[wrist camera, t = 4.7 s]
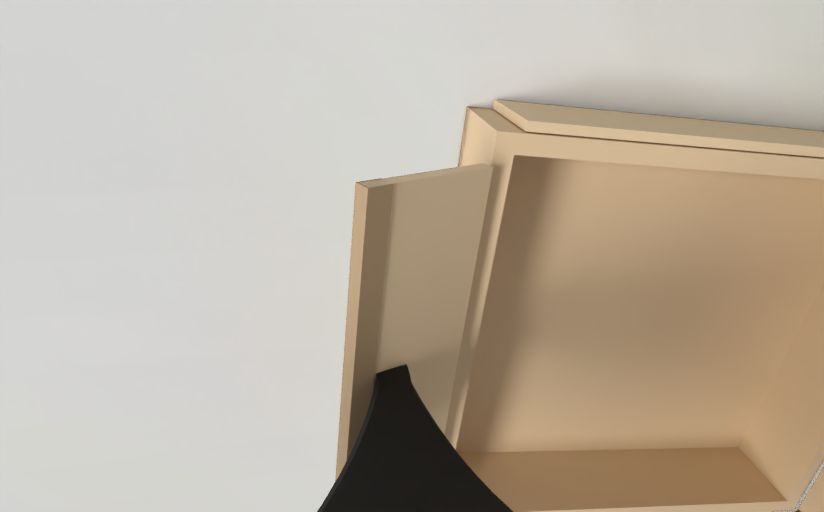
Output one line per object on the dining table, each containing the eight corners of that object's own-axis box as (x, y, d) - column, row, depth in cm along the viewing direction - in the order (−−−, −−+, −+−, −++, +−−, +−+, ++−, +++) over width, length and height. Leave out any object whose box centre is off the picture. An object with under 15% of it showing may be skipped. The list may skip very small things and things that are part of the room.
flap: (482, 162, 12) (355, 182, 9) (494, 167, 12) (367, 188, 9) (421, 515, 17) (328, 584, 14) (428, 523, 16) (336, 595, 14)
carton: (735, 453, 22) (790, 515, 20) (412, 460, 20) (424, 531, 17) (896, 138, 16) (1004, 164, 14) (468, 96, 14) (499, 119, 11)
